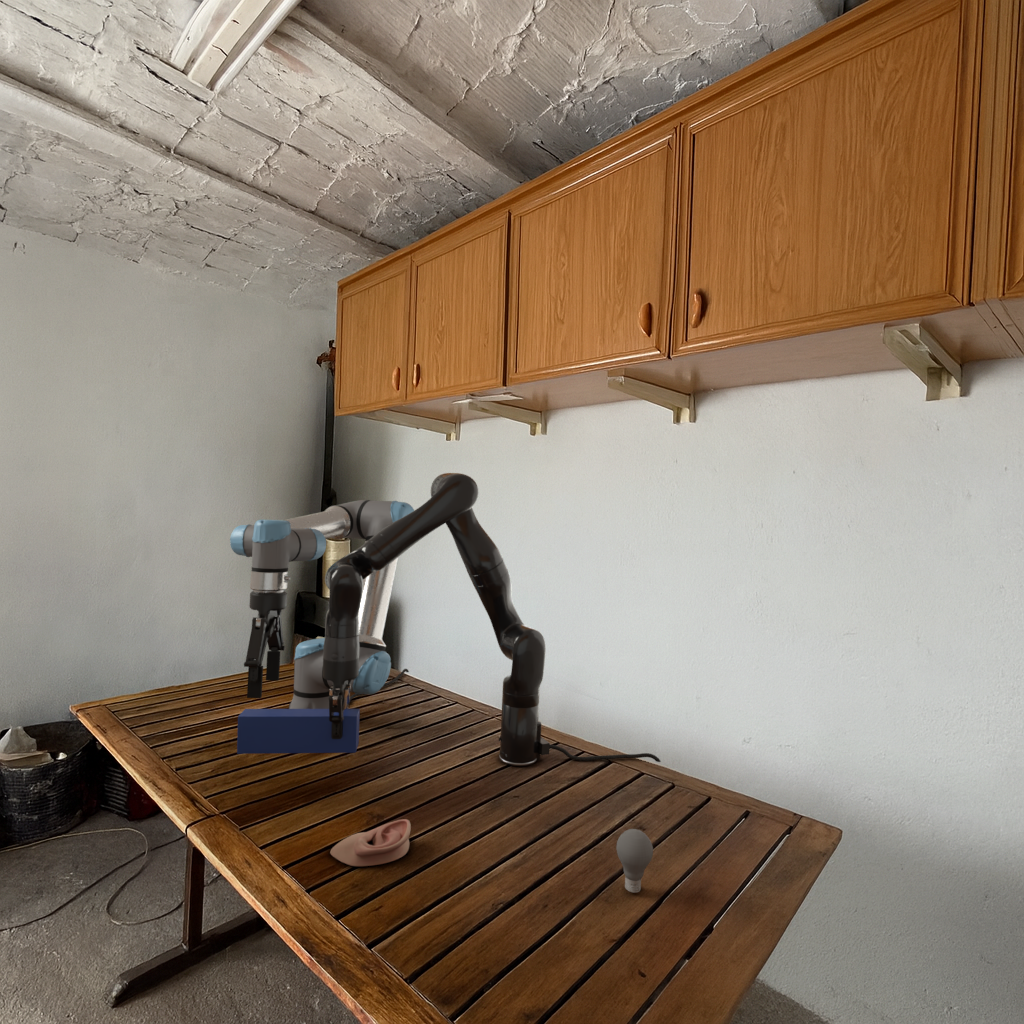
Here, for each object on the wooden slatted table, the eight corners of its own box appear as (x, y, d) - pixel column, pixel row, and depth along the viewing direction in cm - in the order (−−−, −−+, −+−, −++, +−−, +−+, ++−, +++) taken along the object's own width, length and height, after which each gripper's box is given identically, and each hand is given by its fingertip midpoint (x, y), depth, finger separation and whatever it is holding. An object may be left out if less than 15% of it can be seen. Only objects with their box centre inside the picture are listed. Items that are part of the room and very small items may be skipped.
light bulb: (610, 879, 108) (613, 822, 108) (644, 879, 109) (647, 822, 109) (619, 902, 102) (622, 840, 102) (655, 901, 103) (658, 840, 103)
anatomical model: (322, 838, 110) (352, 807, 121) (321, 861, 110) (351, 828, 121) (394, 850, 107) (417, 817, 119) (393, 873, 107) (416, 838, 119)
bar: (236, 753, 132) (237, 716, 132) (244, 744, 137) (245, 708, 137) (355, 752, 135) (356, 716, 135) (358, 744, 140) (359, 708, 140)
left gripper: (270, 599, 125) (265, 706, 125) (299, 584, 150) (295, 673, 150) (231, 598, 125) (225, 705, 125) (267, 583, 150) (262, 673, 149)
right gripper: (354, 664, 130) (351, 746, 130) (363, 647, 144) (360, 722, 145) (316, 664, 129) (314, 747, 129) (329, 647, 143) (327, 722, 144)
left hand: (263, 688), depth 137 cm, fingers open, 13 cm apart
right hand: (338, 733), depth 137 cm, fingers closed on bar, 5 cm apart
